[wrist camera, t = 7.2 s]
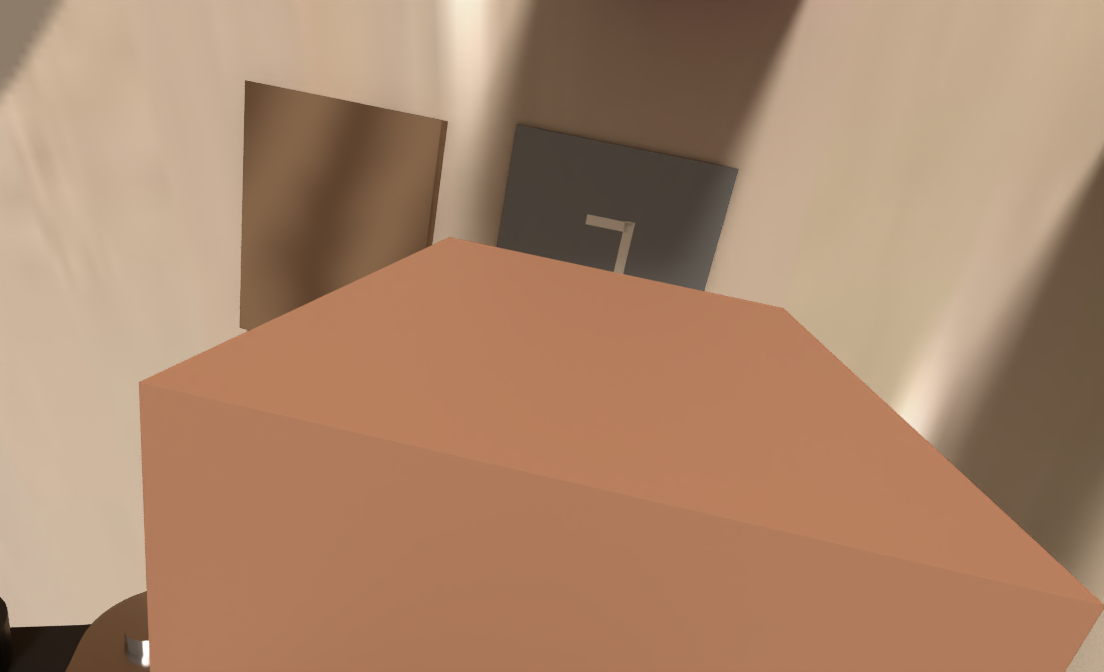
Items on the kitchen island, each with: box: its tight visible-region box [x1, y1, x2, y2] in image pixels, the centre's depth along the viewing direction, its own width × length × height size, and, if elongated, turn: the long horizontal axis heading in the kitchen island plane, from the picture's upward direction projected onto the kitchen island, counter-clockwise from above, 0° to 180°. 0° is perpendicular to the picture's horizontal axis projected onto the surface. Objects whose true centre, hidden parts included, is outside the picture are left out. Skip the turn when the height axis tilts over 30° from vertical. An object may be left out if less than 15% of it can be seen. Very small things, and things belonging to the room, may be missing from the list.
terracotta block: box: [139, 237, 1104, 672], centre depth 8 cm, size 6×9×7 cm, turn 169°
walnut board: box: [240, 80, 448, 330], centre depth 31 cm, size 10×13×1 cm
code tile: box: [497, 125, 738, 291], centre depth 30 cm, size 11×14×1 cm
